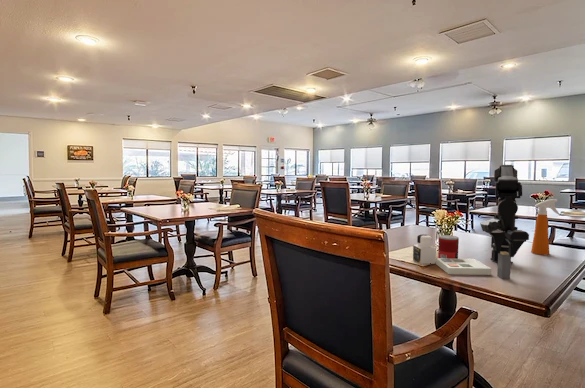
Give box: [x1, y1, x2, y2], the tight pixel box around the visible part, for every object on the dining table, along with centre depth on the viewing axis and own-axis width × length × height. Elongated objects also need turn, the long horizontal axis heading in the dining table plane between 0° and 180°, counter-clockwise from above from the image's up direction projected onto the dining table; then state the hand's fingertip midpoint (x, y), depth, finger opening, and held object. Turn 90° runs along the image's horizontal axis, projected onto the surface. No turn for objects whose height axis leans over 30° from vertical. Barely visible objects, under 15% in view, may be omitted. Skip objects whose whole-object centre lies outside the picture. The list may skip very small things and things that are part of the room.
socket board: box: [435, 257, 492, 276], centre depth 138 cm, size 16×14×3 cm
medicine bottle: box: [412, 233, 437, 265], centre depth 148 cm, size 7×7×12 cm
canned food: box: [437, 234, 460, 259], centre depth 150 cm, size 8×8×11 cm
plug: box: [496, 251, 512, 280], centre depth 127 cm, size 3×3×10 cm
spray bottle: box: [531, 198, 561, 256], centre depth 161 cm, size 7×11×26 cm, turn 72°
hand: (504, 253), depth 127 cm, fingers open, 9 cm apart
